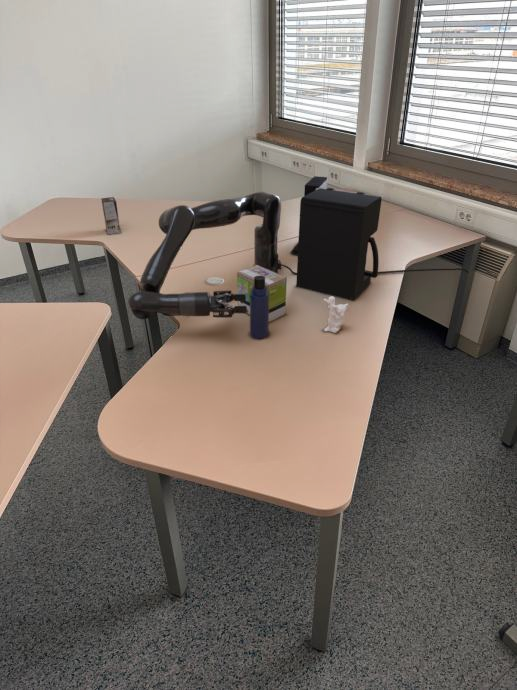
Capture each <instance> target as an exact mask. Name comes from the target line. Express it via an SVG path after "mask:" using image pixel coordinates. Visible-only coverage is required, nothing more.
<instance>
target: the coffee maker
mask: <svg viewBox="0 0 517 690" xmlns="http://www.w3.org/2000/svg"><path fill="white" fill-rule="evenodd" d="M382 199H383V198H382V196H379V195H373V194H367V193H365V192H363V191H362V192H361V191H357V192H353V191H352V192H351V191H345V190H337V189H335V188H332V187H327V189H324V188H319V189H317V190H315V191H313V192H311V193H310V194H308V195H306V196H304V195H303V196H302V197H301V198H300V205H299V222H298V223H299V225H298V242H297V243H298V255H297V261H296V262H297V263H296V273H297V275H296V281H295V282H296V283H295V284H296V285H295V287H297V288H300V289H304V290H307V291H308V290H309V291H313V292H317V293H320V294H325V295H329V296H333V297H337V298H340V299H341V298H342V299H344V300H345V299H346V300H349V301H355V300H356V299H357V297H358V296H359V295H361V293H362V292H363V291H364V290H365V289H366V288H367V287H368V286H369V285H370V284H371V280H372V278H373V279H376V278H377V277H378V272H379V264H380V263H379V261H380V260H379V250H378V245H377V243H376V239H375V238H374V236H373V235H374V234H375V233H377V231H378V228H379V222H380V214H381V207H382V201H383V200H382ZM369 244H370V247H371V252H372V270H368V269H366V265H367V256H368V248H369Z"/></svg>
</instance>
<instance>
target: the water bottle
mask: <svg viewBox="0 0 517 690" xmlns="http://www.w3.org/2000/svg"><path fill="white" fill-rule="evenodd" d="M269 323H270V322H269V292H268V291H267V286H265V277H264V276H255V277H254V286H253V287H252V291H251V292H250V314H249V336H250V337H251V338H253V339H255V340H263V339H266V338H268V337H269Z"/></svg>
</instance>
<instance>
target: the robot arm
mask: <svg viewBox="0 0 517 690" xmlns="http://www.w3.org/2000/svg"><path fill="white" fill-rule="evenodd" d="M281 213H282V202H281V199H280V196H279V195H277V194H274V193H269V192H266V191H257V192H253V193H251V194H246V195H244V196H240V197H239V196H238V197H229V198H227V197H226V198H221V199H216V200H212V201H208V202H205V203H202V204H199V205H197V206H194V207H189V206H188V205H185V204H178V205H175V206H172V207H170V208H167V209H165V210H163V212H162V213H161V214H160V215H159V218H158V227H159V229H160V230H161V232H162V233H163V234H165V237H164V239H163V240H162V242H161V243H160V245H159V246H158V248H157V249H156V250H155V251H154V252H153V253H152V256H151V257H150V258H149V260H148V262H147V263H146V266H145V268H144V270H143V271H142V274H141V277H140V280H139V281H140V282H139V285H140V286H139V291H135V292H133V293H131V294H130V296H129V297H128V298H127V299H128V300H127V305H128V308H129V309H130V311H131V313H132V314H133V316H134V317H135V318H137V319H139V320H147V319H150V317H151V316H152V315H153V314H154V313H157V314H161V315H163V316H165V317H210V315H211V313H212V318H221V319H222V318H223V319H224V318H226V319H227V318H229V319H230V318H233V316H234V315H235V314H247V313H246V312H247V307H246V306H238V305H231V304H230V303H231V302H238V301H245V300H246V295H245V294H238V293H234V292H232V290H213V291H212V295H211V294H210V292H209V291H194V292H193V291H192V292H180V293H162V292H161V289H162V287H163V285H164V284H165V281H166V279H167V276H168V273H169V271H170V269H171V266H172V265H173V263H174V261H175V259H176V257H177V255H178V254H179V252H180V250H181V248H182V247H183V245H184V243H185V241H186V240H187V238H188V237H189V235H190V234H191V232H192V231H194V230H200V229H203V230H204V229H212V228H213V229H214V228H220V227H221V228H222V227H225V226H230V225H234V224H235V223H237V222H239V221H240V220H241V218H244V217H246V216H258V217H261V218H262V219H263V220H262V223H261V224H258V225H256V226H254V233H253V235H254V236H253V237H254V238H253V239H254V240H253V241H254V243H253V244H254V247H253V249H254V258H253V259H254V262H253V266H255V265H258V266H261V267H263V268H265V269H268V270H270V271H273V272H275V273H277V274H279V270H282V267H284V268H286V269H287V270H289V271H290V273H291V274H293V275H296V276H297V272H295V271H293V269H291V267H289V266H288V265H285V264H283V263H282V262H281V259H279V253H278V236H279V235H278V233H279V229H280V225H281V215H282V214H281ZM424 271H426V272H428V271H464V272H465V273H470V271H469V270H468V269H466V268H463V267H457V268H455V267H454V268H449V267H448V268H447V267H445V268H417V269H416V268H413V269H398V270H385V271H378V274H390V273H405V272H406V273H407V272H424ZM210 295H211V296H210Z"/></svg>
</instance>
